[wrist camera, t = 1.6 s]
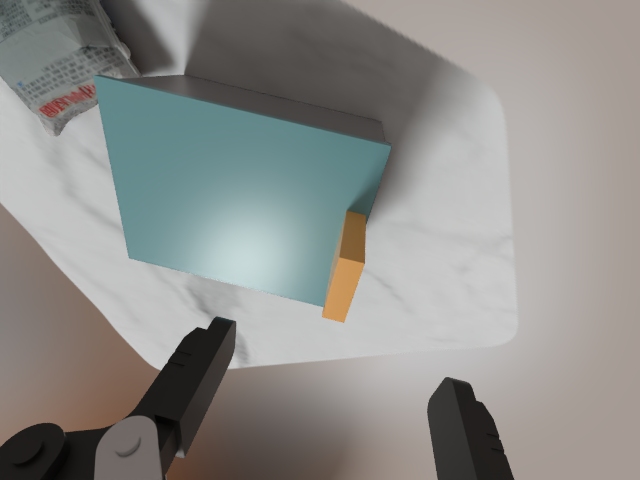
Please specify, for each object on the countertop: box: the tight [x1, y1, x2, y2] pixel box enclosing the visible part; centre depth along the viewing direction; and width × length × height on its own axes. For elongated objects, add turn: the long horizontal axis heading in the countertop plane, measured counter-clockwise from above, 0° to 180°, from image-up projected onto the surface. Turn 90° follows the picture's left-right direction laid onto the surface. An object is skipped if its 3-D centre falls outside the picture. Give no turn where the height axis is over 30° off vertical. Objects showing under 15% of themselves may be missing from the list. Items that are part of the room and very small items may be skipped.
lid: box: [93, 75, 392, 323], centre depth 17 cm, size 16×12×6 cm
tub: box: [121, 75, 385, 142], centre depth 23 cm, size 16×12×8 cm
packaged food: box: [0, 0, 141, 136], centre depth 21 cm, size 9×12×5 cm
